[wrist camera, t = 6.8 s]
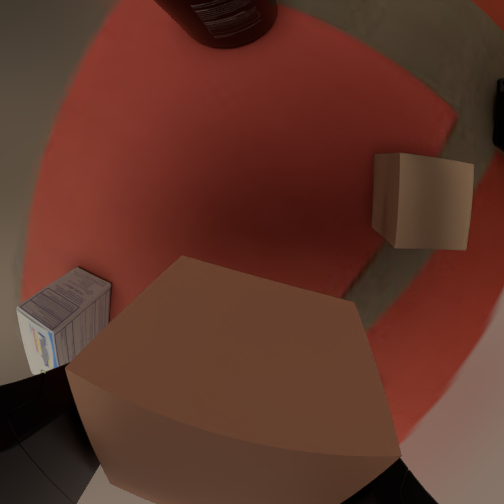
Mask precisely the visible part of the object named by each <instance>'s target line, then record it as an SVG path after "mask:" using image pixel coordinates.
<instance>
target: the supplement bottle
mask: <svg viewBox="0 0 504 504" xmlns="http://www.w3.org/2000/svg"><path fill="white" fill-rule="evenodd" d="M154 1H155V2H156V3H157V4H158V5H159V6H161V7H162V8H163V9H164V10H165V11H166V12H167V13H168V14H169V15H170V16H171V17H172V18H173V19H174V20H175V21H176V22H177V23H178V24H179V25H180V26H181V27H182V28H183V29H184V30H185V31H186V32H187V33H188V34H189V35H190V36H191V37H192V38H193V39H195V40H196V41H198V42H200V43H202V44H205V45H208V46H212V47H233V46H238V45H242V44H245V43H248V42H250V41H252V40H254V39H256V38H257V37H259V36H260V35H262V34H263V33H264V32H265V31H266V30H267V29H268V28H269V27H270V26H271V25H272V23H273V21H274V19H275V17H276V14H277V0H154Z"/></svg>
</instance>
